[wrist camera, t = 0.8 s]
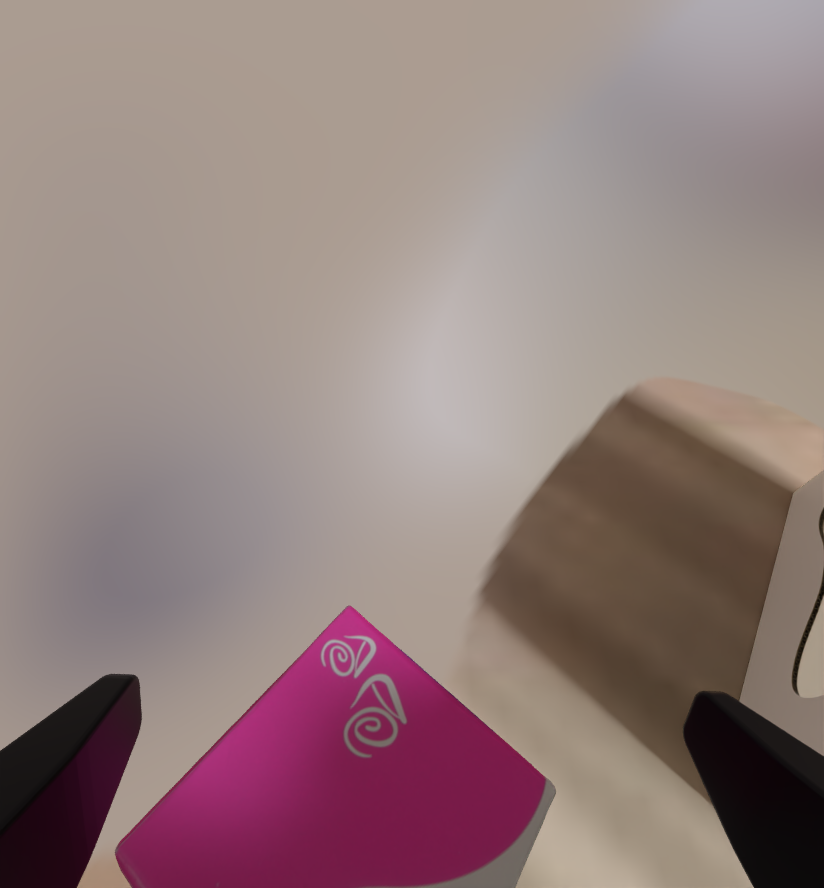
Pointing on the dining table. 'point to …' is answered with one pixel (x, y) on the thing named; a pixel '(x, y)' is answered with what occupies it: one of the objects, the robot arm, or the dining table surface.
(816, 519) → the gable box
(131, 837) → the supplement box
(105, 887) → the dining table surface
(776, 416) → the dining table surface
